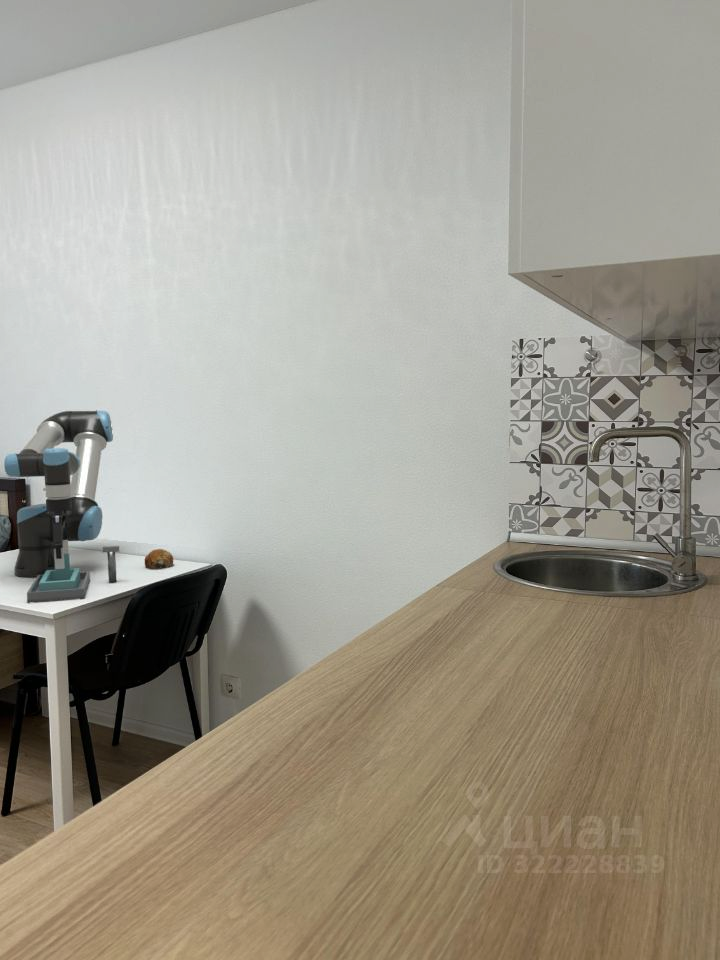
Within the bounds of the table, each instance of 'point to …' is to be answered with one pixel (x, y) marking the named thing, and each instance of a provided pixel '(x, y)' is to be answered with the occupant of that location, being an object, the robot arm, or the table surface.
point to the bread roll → (158, 559)
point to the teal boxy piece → (60, 578)
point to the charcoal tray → (58, 591)
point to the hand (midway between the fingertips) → (62, 564)
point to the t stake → (111, 562)
